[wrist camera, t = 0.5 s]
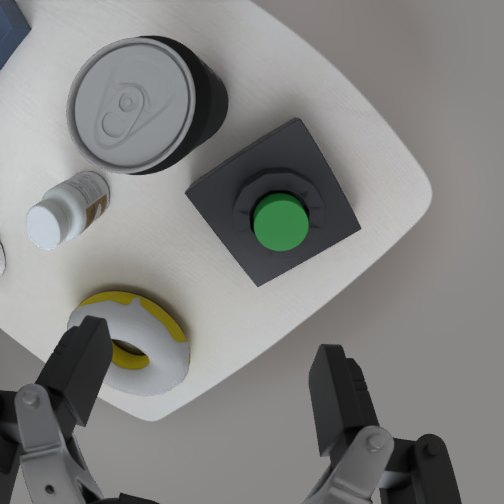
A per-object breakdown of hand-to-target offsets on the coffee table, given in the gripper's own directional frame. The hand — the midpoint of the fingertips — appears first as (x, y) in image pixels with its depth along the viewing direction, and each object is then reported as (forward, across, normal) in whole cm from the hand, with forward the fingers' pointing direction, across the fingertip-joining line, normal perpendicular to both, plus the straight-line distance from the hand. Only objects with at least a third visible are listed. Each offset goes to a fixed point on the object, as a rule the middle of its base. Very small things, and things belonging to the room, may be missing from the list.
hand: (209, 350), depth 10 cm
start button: (+12, -3, -1) cm, 13 cm away
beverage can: (+16, +4, -8) cm, 18 cm away
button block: (+16, -3, -1) cm, 16 cm away
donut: (+16, +10, +16) cm, 24 cm away
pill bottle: (+16, +13, 0) cm, 21 cm away
